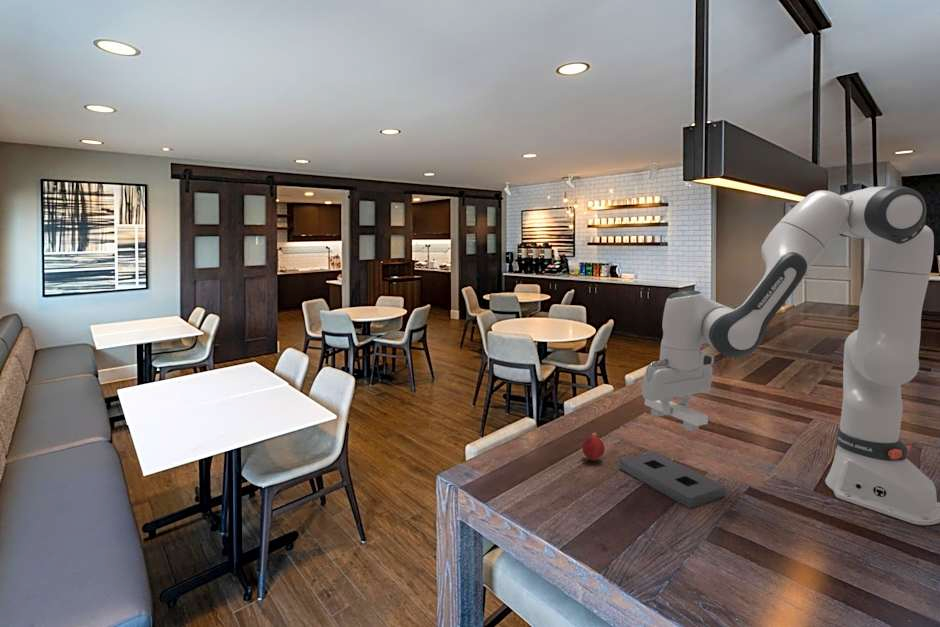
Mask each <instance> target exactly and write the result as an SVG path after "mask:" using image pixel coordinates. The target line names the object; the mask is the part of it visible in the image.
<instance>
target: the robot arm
mask: <svg viewBox="0 0 940 627" xmlns="http://www.w3.org/2000/svg"><path fill="white" fill-rule="evenodd" d="M926 217H927V204H926V201H925V199H924V197H923V195H922V194H921V193H920V192H919V191H917V190H915V189H914V188H911V187H907V186H902V185H889V186H869V187H865V188H863V189H862V188H861V189H856V190H849V191H845V192H842V193H840V194H838V193H836V192H834V191H829V190H823V189H821V190H815V191H813V192H811V193H809V194H808V195H806V196H805V197H804V198H803V199H801V200H800V201H799V202H798V203H797V204H796V205H794V206H793V208H791V209H790V210H789V211H788V212H787V213H786V214H785V215H784V216H783V217H782V218H781V220H779V222H778V223H777V224H776V225H775V226H773V228H772V230H771V231H770V232H769V233H768V235H767V236H766V238H765V240H764V242H763V243H762V245H761V250H760V253H761V257H762V261H763V262H764V264H765V273H764V274H763V277H762V278H761V280H760V281H759V282H758V284H757V285H756V286H755V288H754V289H753V290H752V292H751V293H750V294H749V295H748V297H747V298H746V299H745V301H744V302H743V303H742V304H741V305H739V306H738V307H737V308H735V309H734V308H732V307H730V306H726V305H725V304H721V303H719V302H717V301H714V300H712V299H711V298H709V297H707V296H706V295H705V294H703V293H702V292H701V291H699V290H682V291H680V290H679V291H676V292H674V293H672V294H670V295H668V297H667V299H666V301H665V305H664V310H663V315H662V333H663V334H662V339H661V342H660V350H659V351H660V352H659V360H654V361H651V362H650V363H649V364H648V366H647V367H646V370H645V372H644V377H643V381H642V385H641V396H642V397H643V398H644V399H645V398H646V399H648V400H651V401H658V400H660V402H661V404H662V406H663V414H665V416H671V414H673V412H672V411H673V408H672V407H670V404H669V402H672V399H674V398H681V399H680V401H679V402H678V403H677V404H679V405H681V406H684V407H687V408H688V405H689V403H690V401H691V399H692V397H693V395H695V394H700V393H706V392H708V391H709V390H710V388H711V386H712V379H713V367H712V365H713V364H714V360H715V356H714V355H711V354H708V353H705V352H701V346H702V345H704V344H709V345H711V346H712V347H713V348H714V349H715V350H716V351H717V352H718V353H720V354H721V355H722V356H724V357H726V358H731V359H741V358H745V357H748V356H750V355H751V354H753V353H754V352H756V351H757V350H758V349H759V347H760V346H761V344H762V342H763V339H764V336H765V334H766V330H767V328H768V326H769V324H770V323H771V321H772V320H773V318H774V317H775V315H776V314H777V313H778V312H779V311H780V309H781V308H782V306H783V305H784V304H785V303H786V302H787V300H788V299H789V298H790V296H791V295H792V294H793V293H794V291H795V289H797V287H798V285H799V284H800V283H801V281H802V280H803V278H804V277H805V275H806V273H807V271H808V270H809V268H811V266H812V264H813V263H814V262H815V261H816V260H817V259H818V258H819V257H820V255H821V254H822V253H823V252H824V251H825V250H826V248H828V247H829V245H830V244H831V243H832V242H833V240H835V239H836V238H837V237H838V236H840V237H845V238H849V237H850V238H855V239H856V238H857V239H867V240H868V244H869V245H870V255H869V258H868V262H867V266H866V269H865V274H864V279H863V284H862V288H861V291H860V292H861V293H860V298H859V303H858V304H859V314H858V315H859V316H858V325H857V326H858V327H857V329H855V330H854V331H852V332H851V333H850V334H849V335H848V336H847V337H846V339H845V341H844V345H843V349H844V350H843V364H842V366H843V368H842V370H843V371H842V374H843V375H842V391H843V392H842V394H843V396H842V403H841V404H842V405H841V406H842V407H841V413H840V414H841V415H840V424H839V427H837V429H836V430H837V431H836V436H835V446H834V448H835V449H836V450H835V453H834V458H833V462H832V465H831V467H830V469H829V471H828V474H827V476H826V477H825V480H824V482H825V484H826V485H827V487H828V488H829V489H830V490H832V491H833V492H834V496H835V497H836V498H837V499H840V500H843V501H846V502H849V503H852V504H854V505H857V506H860V507H863V508H866V509H869V510H872V511H875V512H878V513H879V514H880V513H881V514H883V515H887V516H890V517H892V518H896V519H898V520H901V521H904V522H907V523H909V524H912V525H913V524H914V525H918V526H930V525H936V524H940V501H937V500H938V498H937V490H936V485H935V483H934V482H933V481H932V480H931V478H930V477H928V476H926V474H925V473H924V472H922V471H921V470H920V468H918V467H917V466H916V465H915V464H914V463H913V462H911V460H909V459H908V452H909V451H911V449H912V448H911V447H912V445H907V446H906V445H905V444H904V443H903V442H902V441H901V439H900V434H901V433H900V432H901V425H902V419H903V411H904V410H903V409H904V407H903V405H904V404H903V401H902V400H903V399H902V386H901V385H904V384H907V383H909V382H911V381H912V380H913V379H914V378H915V377H916V376H917V374H918V372H919V369H920V359H919V355H920V354H919V352H920V343H921V329H922V326H921V325H922V312H923V305H924V301H925V297H926V293H927V289H928V286H929V285H928V284H929V282H930V277H931V271H932V266H933V261H934V249H935V248H934V247H935V246H934V245H935V244H934V243H935V236H934V232H933V230H932V228H930V227H929V226H928V225H926V223H927V218H926Z"/></svg>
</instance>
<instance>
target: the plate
mask: <svg viewBox="0 0 940 627" xmlns="http://www.w3.org/2000/svg"><path fill="white" fill-rule="evenodd" d="M653 468H654V469H653ZM620 469H622V470H623V471H622V470H621V471H622V472H624V471H625V472H624V473H626V472H627V473H628V474H627V473H626V474H627V475H629V474H630V475H629V476H631V475H632V476H631V477H633V476H634V477H635V478H634V477H633V478H634V479H636V478H637V479H636V480H638V479H639V480H638V481H640V482H642V483H643V484H645V485H647V486H648V487H650V488H652V489H654V490H655V491H657V492H659V493H661V494H663V495H664V494H665V496H666V497H668V498H670V499H671V500H673V501H675V502H677V501H678V502H677V503H679V504H680V503H681V505H682V506H684V507H686V508H688V509H693V508H696V507H699V506H701V505H702V506H703V505H705V504H707V503H710V502H713V501H716V500H719V499H722V498H725V497H726V491H727V490H726V489H727V486H726V485H724V484H722V483H719V482H718V481H716V480H714V479H711V478H709V477H707V476H705V475H704V474H701V473H700V472H696V471H695V470H692V469H691V468H688V467H686V466H685V465H682V464H681V463H679V462H676V461H674V460H672V459H671V458H668V457H665V456H664V455H661V454H659V453H657V452H655V451H649V452H646V453H641V454H638V455H634V456H630V457H627V458H622V459H620V460H619V470H620Z"/></svg>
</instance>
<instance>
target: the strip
mask: <svg viewBox="0 0 940 627" xmlns="http://www.w3.org/2000/svg"><path fill="white" fill-rule="evenodd" d="M669 404H670V407H672V408H673V411H672V412H673V414H671V415H670V416H672V417H674V418H675V419H679V420H681V421H682V422H683V425H682V428H683V429H685V430H687V431H690V432H694V431H698V430H699V428H700V426H704V425H708V423H709V422H708V420H709V415H707V414H706V413H703V412H699V411H697V410H694V409H692V408H689V407H688V406H687V407H684V406H681V405H679V404H678V403H675V402H673V401H671V402H669ZM644 405H645V406H647V407H648V408H650V415H652V416H654V417H656V418H660V417H665V416H666V415H665V414H663V406H662V404H661V402H660V400H658V401H651V400H648V399H646V398H644Z"/></svg>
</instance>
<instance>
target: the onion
mask: <svg viewBox="0 0 940 627" xmlns="http://www.w3.org/2000/svg"><path fill="white" fill-rule="evenodd" d="M581 446H582V453H583V455H584V456H585V457H586V458H587V459H589V460H590V461H592V462H595V461H597V460H599V459H600V458H601V457H602V456H603V455H604V453H605V451H606V450H605V449H606V448H605V445H604V442H603V441H602V439H601V438H600V437H598V435H597V433H596V432H593V433H592V434H591V435H589V436H587V438H585V439H584V441H583V443H582V445H581Z"/></svg>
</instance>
